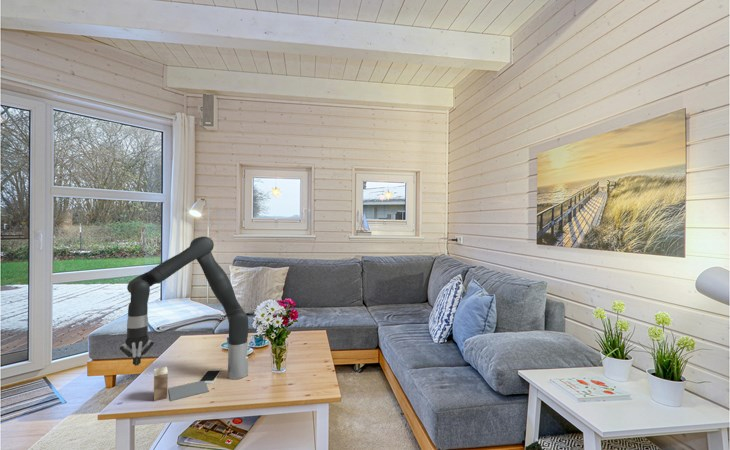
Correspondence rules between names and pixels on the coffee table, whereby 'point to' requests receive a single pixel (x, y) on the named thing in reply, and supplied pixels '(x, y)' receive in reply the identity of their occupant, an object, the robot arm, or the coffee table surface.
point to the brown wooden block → (160, 383)
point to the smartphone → (210, 376)
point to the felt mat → (188, 390)
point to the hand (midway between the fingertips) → (136, 364)
